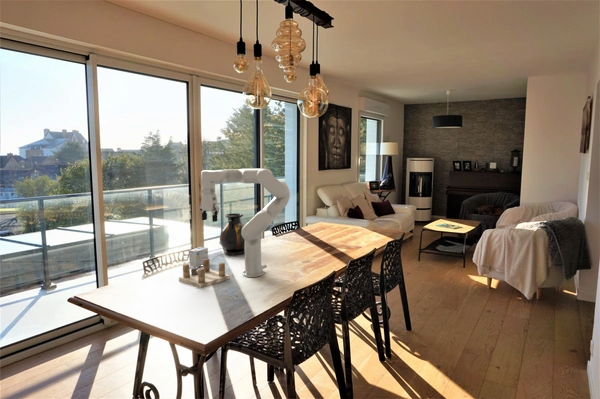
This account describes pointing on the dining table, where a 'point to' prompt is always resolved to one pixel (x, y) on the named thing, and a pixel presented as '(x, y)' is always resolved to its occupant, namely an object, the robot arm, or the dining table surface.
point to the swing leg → (205, 266)
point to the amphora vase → (233, 235)
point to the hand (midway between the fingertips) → (209, 220)
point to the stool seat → (204, 276)
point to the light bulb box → (198, 256)
